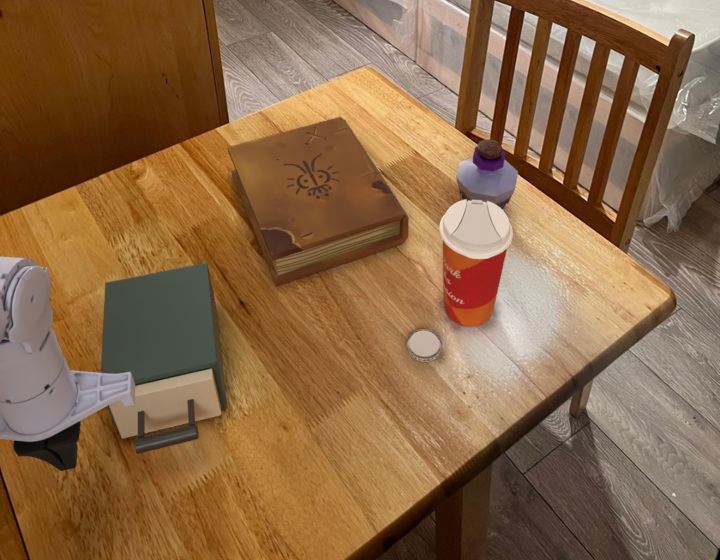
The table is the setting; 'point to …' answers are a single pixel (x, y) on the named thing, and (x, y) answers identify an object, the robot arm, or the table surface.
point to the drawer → (168, 409)
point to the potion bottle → (487, 175)
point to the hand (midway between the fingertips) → (69, 458)
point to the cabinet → (162, 327)
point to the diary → (315, 199)
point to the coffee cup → (473, 259)
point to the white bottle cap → (424, 345)
